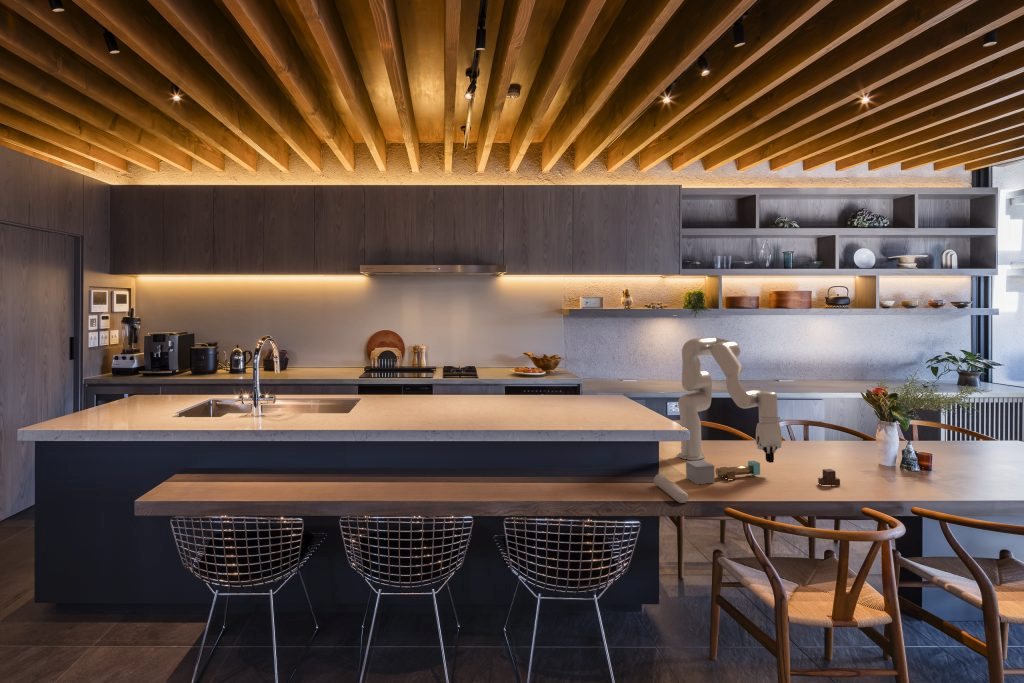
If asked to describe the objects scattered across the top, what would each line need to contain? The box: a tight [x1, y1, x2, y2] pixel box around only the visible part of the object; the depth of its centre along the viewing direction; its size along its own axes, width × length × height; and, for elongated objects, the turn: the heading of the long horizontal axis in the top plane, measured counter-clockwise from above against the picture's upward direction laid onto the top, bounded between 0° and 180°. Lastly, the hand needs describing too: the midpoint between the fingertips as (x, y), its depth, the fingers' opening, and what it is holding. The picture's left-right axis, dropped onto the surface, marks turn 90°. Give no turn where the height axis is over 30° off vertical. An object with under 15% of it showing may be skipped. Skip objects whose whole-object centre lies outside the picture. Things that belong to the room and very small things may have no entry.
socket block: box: [685, 459, 716, 486], centre depth 261 cm, size 10×8×8 cm
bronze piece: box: [715, 460, 761, 478], centre depth 263 cm, size 4×18×5 cm, turn 99°
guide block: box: [719, 466, 736, 480], centre depth 263 cm, size 7×3×4 cm, turn 9°
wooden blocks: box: [817, 468, 841, 486], centre depth 246 cm, size 15×15×7 cm
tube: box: [653, 473, 689, 504], centre depth 244 cm, size 5×5×25 cm
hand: (769, 461), depth 265 cm, fingers closed
